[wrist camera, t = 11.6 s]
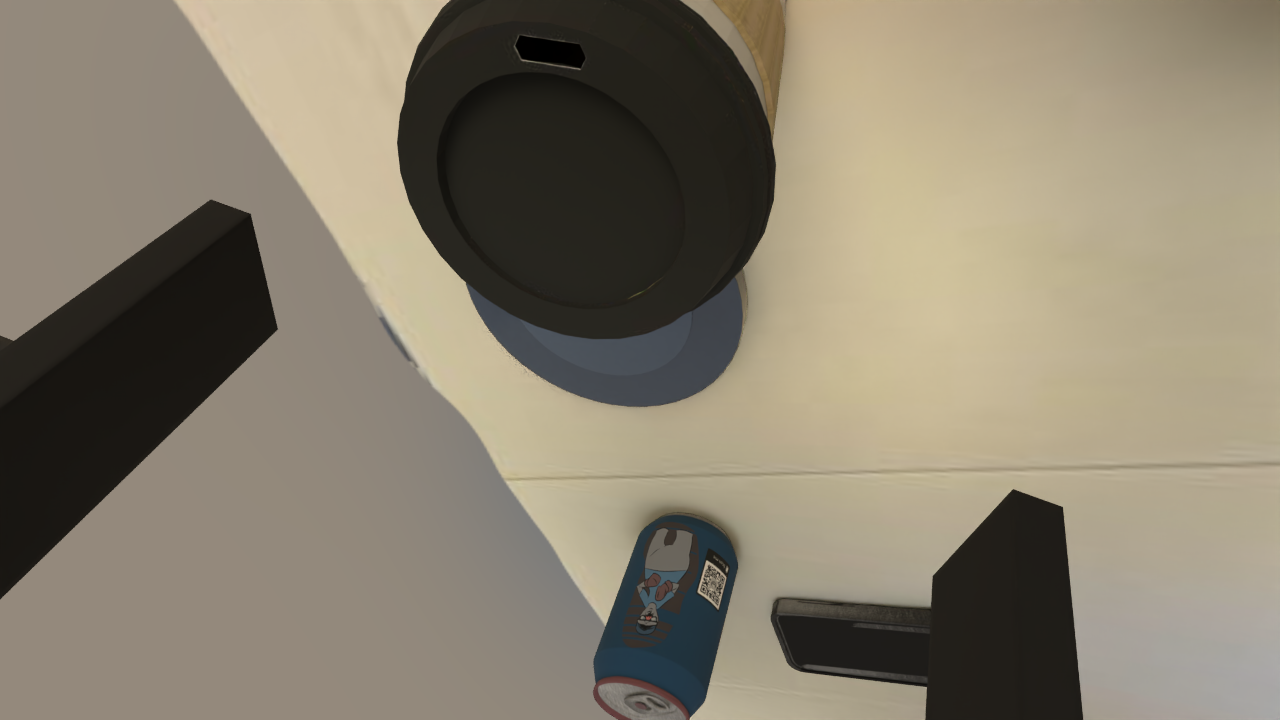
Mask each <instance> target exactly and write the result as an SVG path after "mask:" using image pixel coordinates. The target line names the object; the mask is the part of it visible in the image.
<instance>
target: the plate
mask: <svg viewBox="0 0 1280 720" xmlns="http://www.w3.org/2000/svg"><path fill="white" fill-rule="evenodd" d="M466 285H467V288H468V291H469V294H470V297H471V299H472V301H473V303H474V305H475V307H476V310H477V312H478V314H479V315H480V317H481V318H482V320H483V321H484V323H485V325H486V326H487V328H488V329H489V330H490V332H491V333H492V334H493V335H494V337H495V338H496V339H497V340H498V342H499V343H500V344H501V345H502V346H503V347H504V348H505V349H506V350H507V351H508V352H509V353H510V354H511V355H512V356H513V357H515V358H516V359H517V360H518V361H519V362H520V363H521V364H523V365H524V366H525V367H527V368H528V369H529V370H531V371H532V372H534V373H535V374H536V375H538V376H540V377H541V378H543V379H545V380H546V381H548V382H549V383H551V384H553V385H555V386H557V387H559V388H561V389H563V390H565V391H568V392H570V393H573V394H575V395H578V396H580V397H583V398H587V399H590V400H593V401H597V402H601V403H606V404H611V405H618V406H627V407H648V406H659V405H664V404H669V403H673V402H677V401H680V400H682V399H685V398H688V397H690V396H692V395H694V394H696V393H698V392H700V391H702V390H703V389H705V388H706V387H707V386H709V385H710V384H711V383H713V382H714V381H715V380H716V379H717V378H718V377H719V376H720V375H721V374H722V373H723V372H724V371H725V369H726V368H727V366H728V365H729V364H730V362H731V361H732V359H733V357H734V355H735V353H736V350H737V348H738V346H739V343H740V340H741V336H742V333H743V329H744V326H745V322H746V315H747V291H746V284H745V280H744V276H743V271H742V270H741V271H740V272H739V273H738V274H737V275H736V276H735V277H734V278H733V280H732V281H731V282H730V283H729V284H728V285H727V286H726V287H725V288H724V289H723V290H722V291H721V292H720V293H718V294H717V295H716V296H714V297H713V298H711V299H710V300H708V301H707V302H705V303H704V304H703V305H701V306H700V307H698V308H697V309H695V310H693V311H690V312H688V313H686V314H684V315H683V316H681V317H680V318H678V319H677V320H675V321H674V322H673V323H671V324H669V325H667V326H664V327H662V328H659V329H657V330H655V331H652V332H650V333H647V334H643V335H638V336H633V337H628V338H622V339H587V338H580V337H574V336H567V335H562V334H559V333H556V332H553V331H549V330H546V329H543V328H540V327H537V326H534V325H532V324H530V323H528V322H526V321H524V320H522V319H519V318H517V317H515V316H513V315H511V314H509V313H507V312H506V311H504V310H503V309H501V308H500V307H498V306H496V305H495V304H493V303H492V302H490V301H489V300H487V299H486V298H484V297H483V296H482V295H481V294H479V293H478V292H477V291H476V290H475V289H473V288H472V287H471V286H470V285H469V284H467V283H466Z"/></svg>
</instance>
